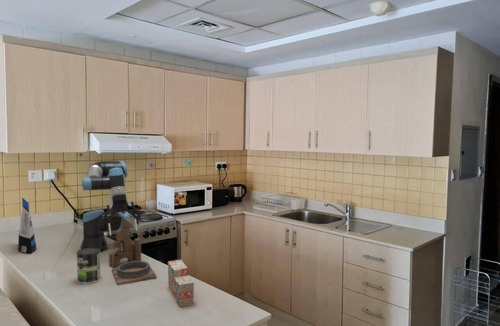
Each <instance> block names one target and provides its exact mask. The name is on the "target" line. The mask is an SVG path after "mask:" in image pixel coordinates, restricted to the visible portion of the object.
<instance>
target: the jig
mask: <svg viewBox="0 0 500 326" xmlns="http://www.w3.org/2000/svg"><path fill="white" fill-rule="evenodd" d="M111 273H112V275H113V278H114V279H115V282H116V283H115V284H116V285H117V286H120V285H126V284H132V283H133V284H134V283H137V282H143V281H148V280H155V279H157V275H156V273H155V271H154V270H153V269H152V267H151V265H150V263H149V262H148V261H143V260H141V261H131V262H129V261H126V262H123V263H120V265H119V266H118V267H117V268H113V267H112V268H111Z"/></svg>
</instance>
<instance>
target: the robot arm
mask: <svg viewBox="0 0 500 326" xmlns="http://www.w3.org/2000/svg"><path fill="white" fill-rule="evenodd" d="M86 175H87V177H86V176H85V177H83V178H81V179H82V181H81V183H82V190H83V191H88V192H91V191H101V190H103V191H104V190H107V191H108V190H109V204H107V206H106V210H104V209H94V210H91V211H90V210H89V211H87V212H84V213H83V215H82V216H83V217H82V229H83V232H82V233H83V239H82V242H81V245H80V250H81V249H85V248H99V249H100V253H101V252H104V251H106V250H107V249H109V244H108V241H107V238H106V236H105V232H109V237H111V236H112V232H113V231H117V230H118V229H119V228H122V217H123V218H125V219H126V220H127V221H128V222H130V217H133V218H134V219H133V221H134V227H135V232H138V225H139V222H140V221H139V219H140V218H142V215H141V213H140V212H139V210H138V209H137V208H136V207H135V205H134V204H135V203H134V202H133V201H131V202H128V201H127V199H128V198H127V195H126V194H127V193H126V192H127V191H126V187H125V185H126V184H125V179H126V178H127V177H128V168H127V165H126V162H125V161H124V160H108V161H107V160H105V161H103V160H102V161H97V162H94V163H92V164H91V165H89V166H88V168H87V170H86ZM128 206H129V207H131V208H132V210H133V211H134V212H133V211H131V209H129V208H128ZM130 215H131V216H130Z"/></svg>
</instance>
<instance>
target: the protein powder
mask: <svg viewBox="0 0 500 326" xmlns="http://www.w3.org/2000/svg"><path fill="white" fill-rule="evenodd" d="M21 200H22V205H21V206H22V211H21V216H20V225H19V226H20V228H19V233H18V245H17V247H18V252H19V253H22V254H25V255H26V254H27V255H32V254H33V253H35V252H36V251H37V250H38V249H37V242H36V238H35V232H34V226H33V222H32V221H33V220H32V216H31V215H30V204H29V202H28V200H26V199H25V198H24V197H22V198H21Z"/></svg>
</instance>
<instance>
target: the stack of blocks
mask: <svg viewBox="0 0 500 326" xmlns="http://www.w3.org/2000/svg"><path fill="white" fill-rule="evenodd" d="M167 275H168V280H167V282H168V283H167V285H168V290H169V291H170V293H171V295H172V296H173V298H174V300H175V302H176V304H177V305H178V307H179V308H180V307H185V306H189V305H191V306H192V305H194V298H195V296H194V295H195V293H194V289H195V288H194V287H195V286H194V285H195V282H194V281H193V279H192V278H191V277H190V275H189V268H188V266H187V265H186V264H185V263H184V261H183V260H182V259H175V260H170V261H167Z"/></svg>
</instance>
